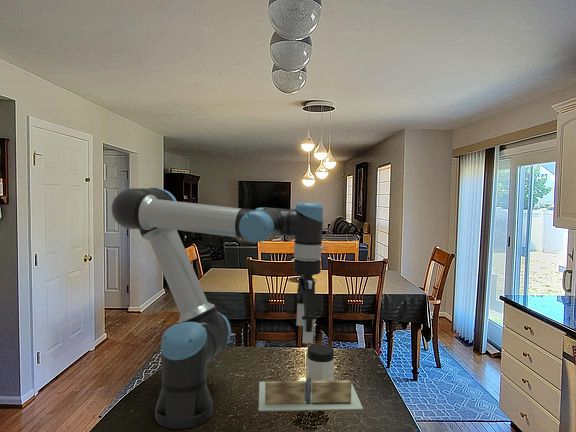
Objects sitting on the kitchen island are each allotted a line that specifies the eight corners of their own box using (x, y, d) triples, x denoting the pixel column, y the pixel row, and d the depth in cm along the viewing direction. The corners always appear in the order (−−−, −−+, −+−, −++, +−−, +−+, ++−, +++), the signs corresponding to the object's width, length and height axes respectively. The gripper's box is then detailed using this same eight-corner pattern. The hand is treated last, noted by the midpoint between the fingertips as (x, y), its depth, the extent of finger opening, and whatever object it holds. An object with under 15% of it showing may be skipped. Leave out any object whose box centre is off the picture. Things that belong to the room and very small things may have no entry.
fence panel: (303, 400, 120) (303, 380, 119) (304, 403, 118) (304, 383, 118) (265, 400, 119) (265, 381, 119) (265, 403, 118) (265, 383, 117)
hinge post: (305, 405, 118) (306, 379, 118) (305, 402, 120) (305, 377, 119) (310, 405, 118) (311, 379, 118) (310, 402, 120) (310, 377, 119)
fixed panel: (312, 402, 118) (312, 383, 118) (312, 400, 120) (312, 380, 119) (351, 402, 119) (351, 382, 119) (350, 399, 120) (350, 380, 120)
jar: (316, 396, 123) (317, 356, 122) (300, 385, 130) (301, 347, 129) (339, 388, 128) (340, 350, 127) (322, 378, 134) (324, 341, 134)
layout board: (258, 411, 115) (258, 409, 115) (259, 382, 132) (259, 381, 132) (363, 409, 116) (363, 408, 116) (350, 381, 133) (350, 380, 133)
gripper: (329, 268, 104) (325, 351, 105) (313, 251, 129) (310, 319, 130) (299, 267, 103) (296, 351, 105) (289, 251, 128) (286, 318, 129)
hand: (304, 333), depth 117 cm, fingers open, 13 cm apart
